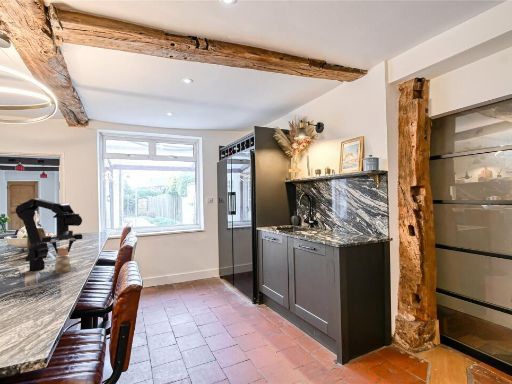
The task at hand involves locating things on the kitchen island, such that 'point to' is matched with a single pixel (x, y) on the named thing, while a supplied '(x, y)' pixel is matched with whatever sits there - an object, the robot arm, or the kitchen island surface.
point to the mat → (52, 272)
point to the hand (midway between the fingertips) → (62, 253)
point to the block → (41, 234)
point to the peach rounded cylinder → (62, 251)
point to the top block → (62, 260)
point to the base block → (62, 268)
